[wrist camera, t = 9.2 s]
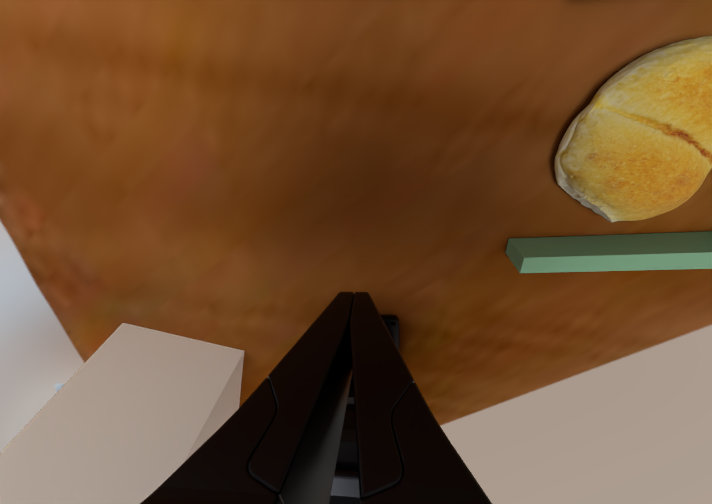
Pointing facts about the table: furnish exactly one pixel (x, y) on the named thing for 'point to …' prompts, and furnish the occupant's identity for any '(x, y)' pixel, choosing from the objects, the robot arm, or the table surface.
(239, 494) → the robot arm
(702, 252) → the mini golf green
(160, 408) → the milk
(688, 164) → the bread roll
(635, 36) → the table surface
